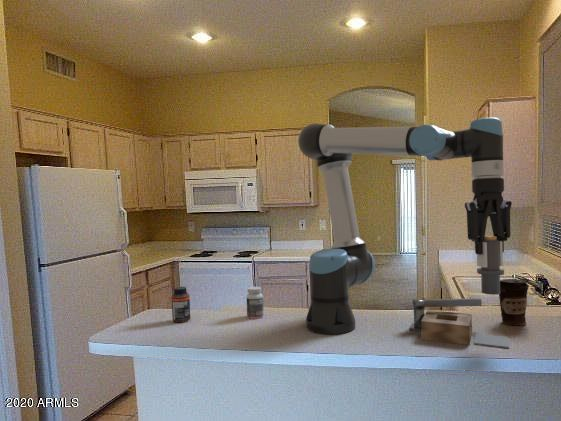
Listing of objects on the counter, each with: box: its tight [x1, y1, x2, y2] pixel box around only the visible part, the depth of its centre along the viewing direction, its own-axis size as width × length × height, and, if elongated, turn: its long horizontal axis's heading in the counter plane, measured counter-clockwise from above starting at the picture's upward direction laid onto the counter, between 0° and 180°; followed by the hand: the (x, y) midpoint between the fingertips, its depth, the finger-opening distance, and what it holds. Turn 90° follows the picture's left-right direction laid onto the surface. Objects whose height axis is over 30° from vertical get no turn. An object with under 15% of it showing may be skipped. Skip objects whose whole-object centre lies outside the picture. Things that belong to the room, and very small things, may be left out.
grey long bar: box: [411, 297, 483, 309], centre depth 119 cm, size 20×4×2 cm, turn 87°
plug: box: [476, 235, 505, 296], centre depth 106 cm, size 6×6×15 cm
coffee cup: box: [498, 278, 530, 326], centre depth 122 cm, size 9×8×13 cm
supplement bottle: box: [171, 286, 191, 323], centre depth 135 cm, size 6×6×11 cm
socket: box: [420, 309, 473, 346], centre depth 113 cm, size 12×12×5 cm
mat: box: [473, 333, 510, 349], centre depth 107 cm, size 8×8×1 cm
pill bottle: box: [246, 286, 265, 320], centre depth 138 cm, size 6×6×10 cm
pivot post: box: [408, 307, 425, 332], centre depth 119 cm, size 5×5×6 cm
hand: (490, 265), depth 106 cm, fingers closed on plug, 4 cm apart
